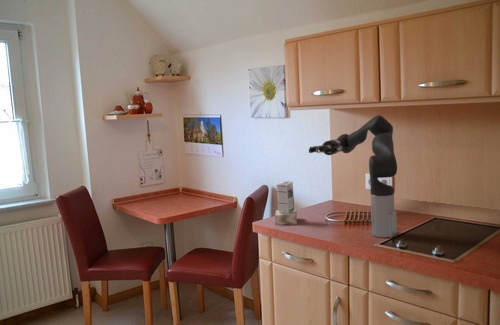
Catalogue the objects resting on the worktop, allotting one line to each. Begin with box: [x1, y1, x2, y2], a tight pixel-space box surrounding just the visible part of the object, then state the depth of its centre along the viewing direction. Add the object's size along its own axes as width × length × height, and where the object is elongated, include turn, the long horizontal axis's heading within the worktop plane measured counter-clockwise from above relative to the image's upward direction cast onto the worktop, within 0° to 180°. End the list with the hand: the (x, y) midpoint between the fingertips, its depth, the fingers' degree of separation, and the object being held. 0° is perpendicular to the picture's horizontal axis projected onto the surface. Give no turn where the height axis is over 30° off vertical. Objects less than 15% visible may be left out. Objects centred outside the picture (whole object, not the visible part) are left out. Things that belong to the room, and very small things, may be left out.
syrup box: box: [276, 180, 295, 214], centre depth 213 cm, size 6×6×14 cm
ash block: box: [274, 209, 298, 226], centre depth 215 cm, size 10×10×5 cm
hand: (317, 151), depth 221 cm, fingers open, 8 cm apart
